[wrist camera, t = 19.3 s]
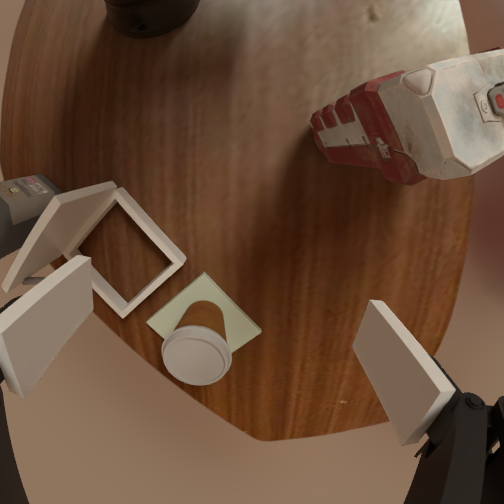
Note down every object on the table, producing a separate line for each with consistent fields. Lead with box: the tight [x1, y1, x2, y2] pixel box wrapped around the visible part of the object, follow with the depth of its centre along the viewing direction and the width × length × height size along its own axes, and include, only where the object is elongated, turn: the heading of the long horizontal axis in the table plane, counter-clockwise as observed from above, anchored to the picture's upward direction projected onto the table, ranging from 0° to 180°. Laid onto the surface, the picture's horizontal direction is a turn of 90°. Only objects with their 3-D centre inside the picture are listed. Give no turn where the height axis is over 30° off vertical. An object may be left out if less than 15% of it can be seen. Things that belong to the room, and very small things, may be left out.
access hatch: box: [1, 181, 187, 318], centre depth 36 cm, size 16×16×18 cm
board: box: [146, 272, 261, 353], centre depth 49 cm, size 14×14×1 cm
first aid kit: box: [309, 46, 504, 186], centre depth 25 cm, size 23×8×30 cm, turn 118°
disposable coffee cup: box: [162, 300, 232, 385], centre depth 42 cm, size 10×10×12 cm
